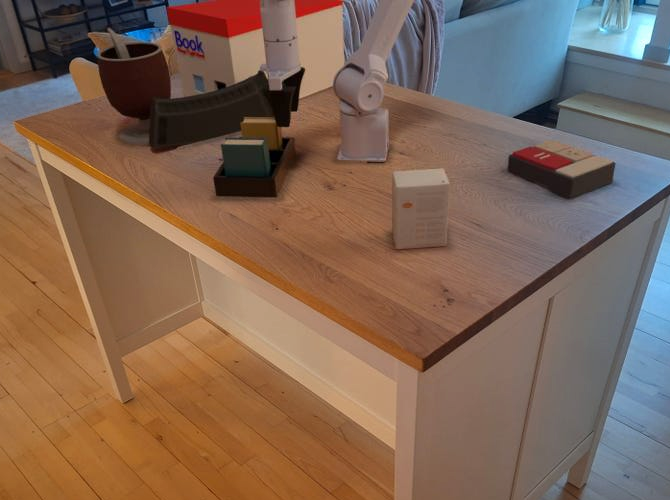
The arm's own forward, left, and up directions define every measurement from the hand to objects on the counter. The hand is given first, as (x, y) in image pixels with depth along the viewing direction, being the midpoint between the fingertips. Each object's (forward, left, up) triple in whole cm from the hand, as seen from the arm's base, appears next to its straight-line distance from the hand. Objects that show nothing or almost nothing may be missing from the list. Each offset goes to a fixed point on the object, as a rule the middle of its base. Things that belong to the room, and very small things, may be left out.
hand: (287, 118), depth 119 cm
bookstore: (+15, -45, -10) cm, 49 cm away
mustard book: (+6, -3, -9) cm, 12 cm away
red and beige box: (-49, +1, -10) cm, 50 cm away
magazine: (+19, -17, -10) cm, 27 cm away
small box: (-25, +25, -10) cm, 37 cm away
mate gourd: (+36, -18, -10) cm, 41 cm away
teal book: (+6, +9, -9) cm, 14 cm away
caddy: (+6, +3, -10) cm, 12 cm away
